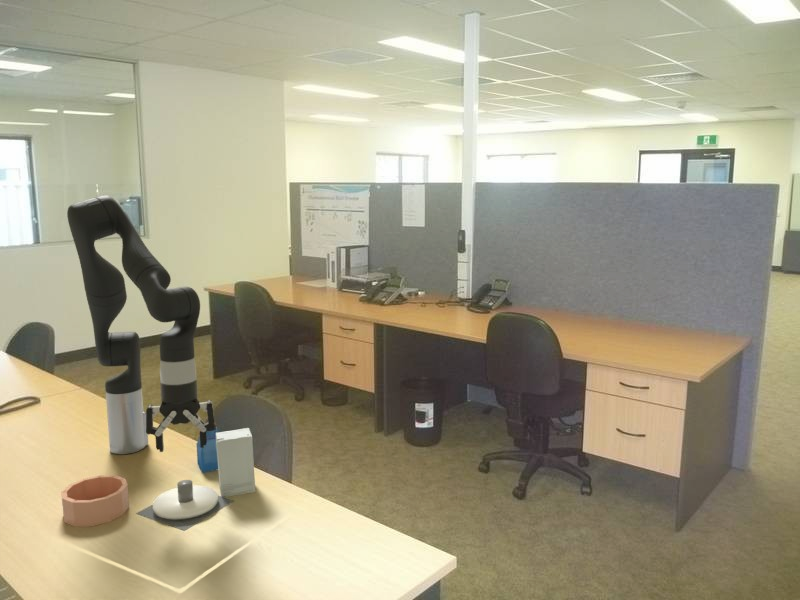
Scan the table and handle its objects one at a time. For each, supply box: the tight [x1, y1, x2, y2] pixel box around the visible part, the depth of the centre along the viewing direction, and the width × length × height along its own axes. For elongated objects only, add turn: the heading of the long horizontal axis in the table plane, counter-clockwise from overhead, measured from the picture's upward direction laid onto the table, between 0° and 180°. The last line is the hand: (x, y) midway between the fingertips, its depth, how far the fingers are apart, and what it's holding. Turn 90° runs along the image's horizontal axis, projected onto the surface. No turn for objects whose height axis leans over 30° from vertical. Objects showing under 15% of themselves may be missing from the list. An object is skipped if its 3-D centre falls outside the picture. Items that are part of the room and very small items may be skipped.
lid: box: [152, 479, 219, 519], centre depth 141 cm, size 14×14×6 cm
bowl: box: [60, 474, 130, 527], centre depth 139 cm, size 13×13×6 cm
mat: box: [135, 495, 235, 532], centre depth 142 cm, size 15×15×1 cm
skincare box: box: [216, 427, 256, 498], centre depth 149 cm, size 8×6×15 cm
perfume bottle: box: [196, 422, 218, 474], centre depth 163 cm, size 6×6×12 cm
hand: (182, 448), depth 139 cm, fingers open, 8 cm apart
